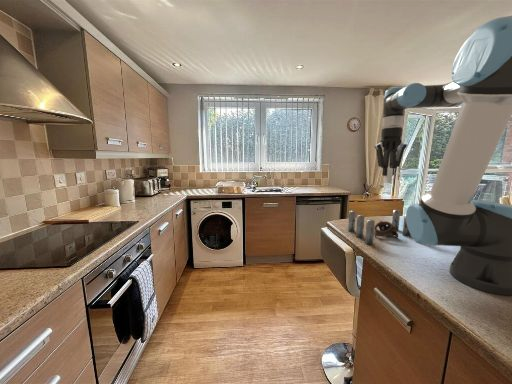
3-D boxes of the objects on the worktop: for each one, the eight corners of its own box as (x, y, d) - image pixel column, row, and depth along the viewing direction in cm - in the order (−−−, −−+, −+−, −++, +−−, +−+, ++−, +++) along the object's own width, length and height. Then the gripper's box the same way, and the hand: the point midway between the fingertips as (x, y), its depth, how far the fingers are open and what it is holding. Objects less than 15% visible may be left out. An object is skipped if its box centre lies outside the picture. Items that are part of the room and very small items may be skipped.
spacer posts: (426, 243, 92) (428, 220, 90) (367, 245, 91) (369, 221, 89) (395, 228, 110) (397, 209, 109) (346, 230, 110) (347, 210, 108)
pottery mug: (404, 242, 95) (399, 227, 92) (382, 249, 97) (376, 235, 95) (390, 226, 106) (385, 213, 103) (370, 234, 108) (365, 221, 106)
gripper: (401, 128, 97) (396, 182, 101) (371, 129, 97) (367, 182, 100) (414, 126, 90) (408, 183, 93) (381, 126, 89) (377, 184, 93)
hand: (387, 183), depth 97 cm, fingers closed
